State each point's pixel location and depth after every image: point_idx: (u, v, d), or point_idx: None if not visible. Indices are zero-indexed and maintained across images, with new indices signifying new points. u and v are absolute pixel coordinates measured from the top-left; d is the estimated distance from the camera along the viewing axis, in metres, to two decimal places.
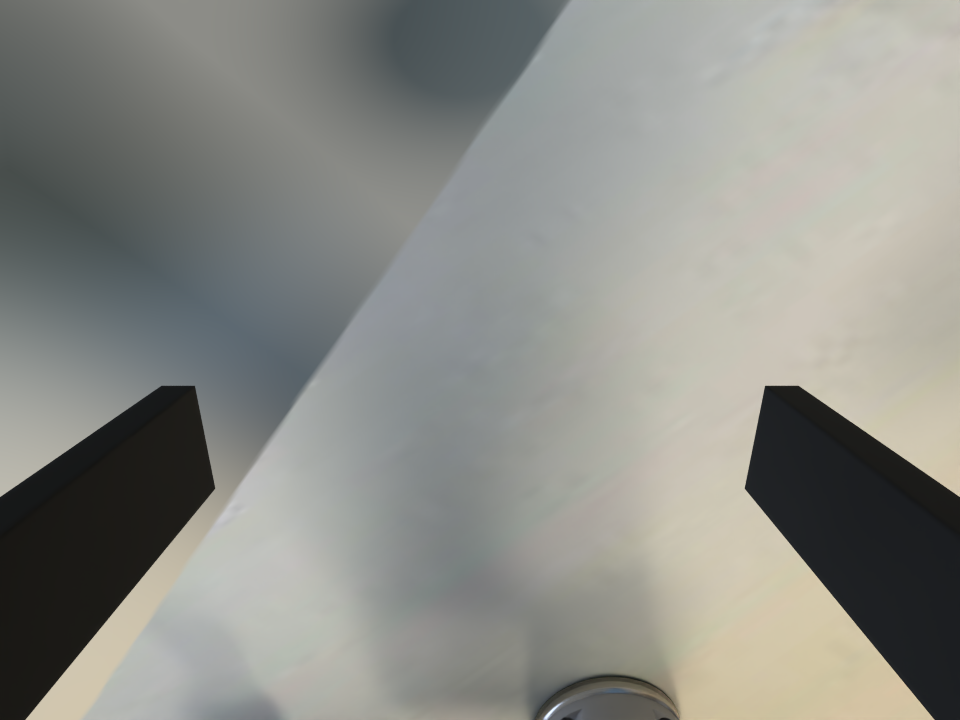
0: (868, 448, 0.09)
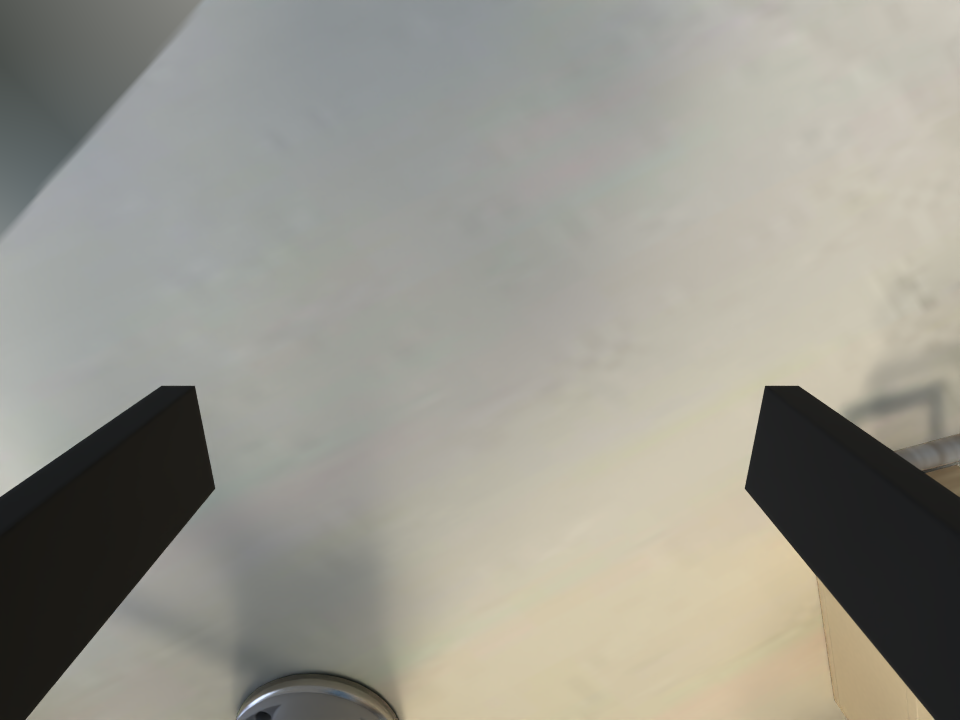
0: (868, 448, 0.09)
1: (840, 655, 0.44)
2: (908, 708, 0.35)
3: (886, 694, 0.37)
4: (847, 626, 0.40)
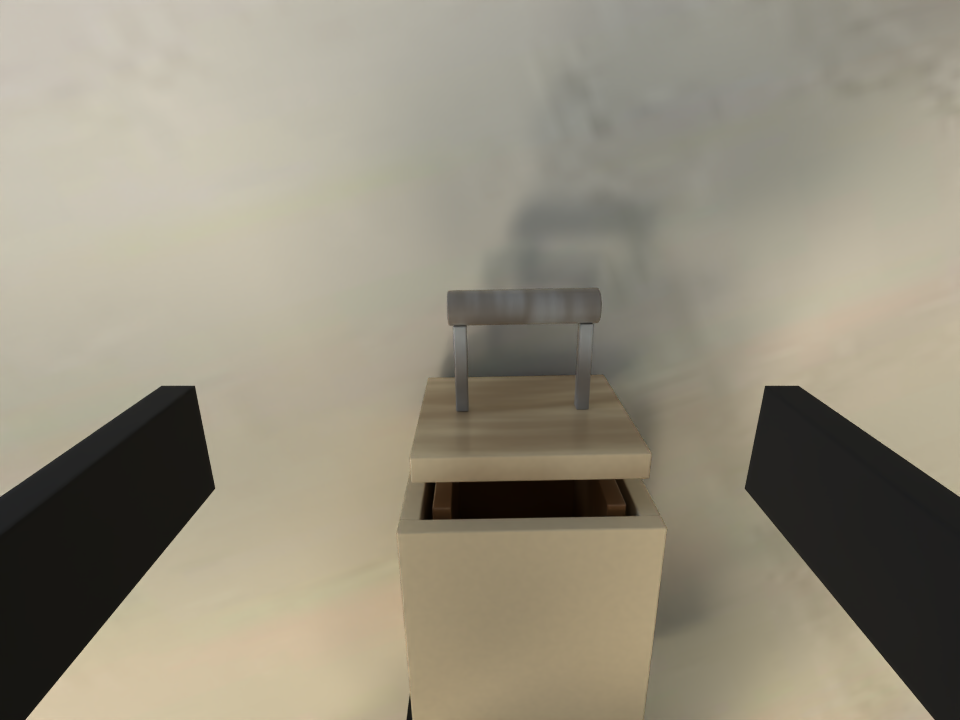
0: (868, 448, 0.09)
1: None
2: None
3: None
4: None
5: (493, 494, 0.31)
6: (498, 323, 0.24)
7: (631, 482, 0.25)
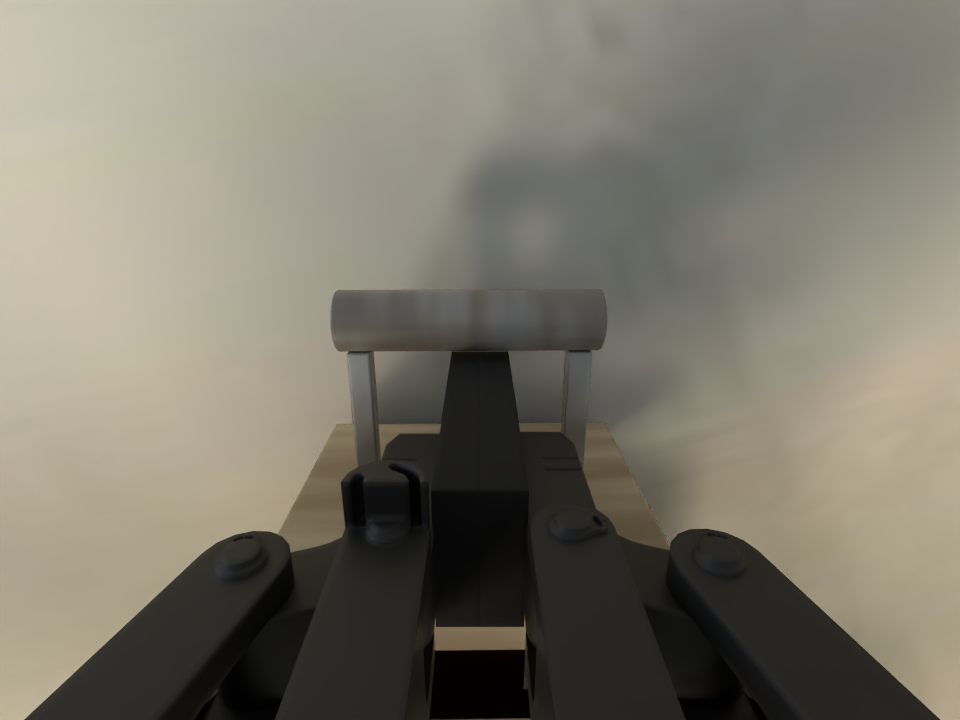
0: (497, 394, 0.12)
1: None
2: None
3: None
4: None
5: None
6: (425, 349, 0.13)
7: None
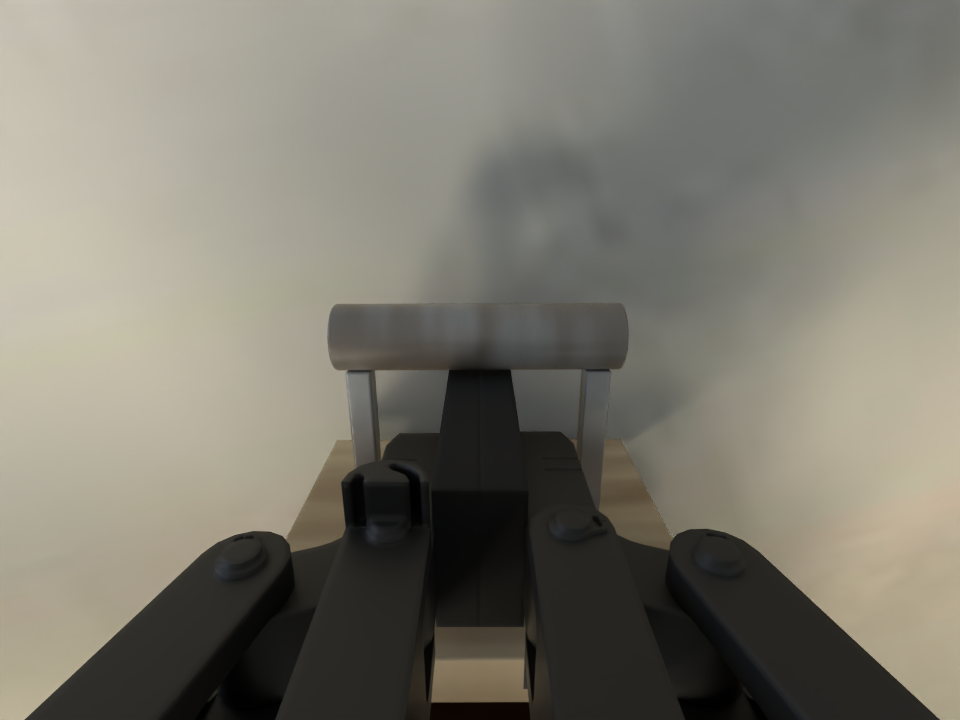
0: (497, 394, 0.12)
1: None
2: None
3: None
4: None
5: None
6: (430, 368, 0.12)
7: None
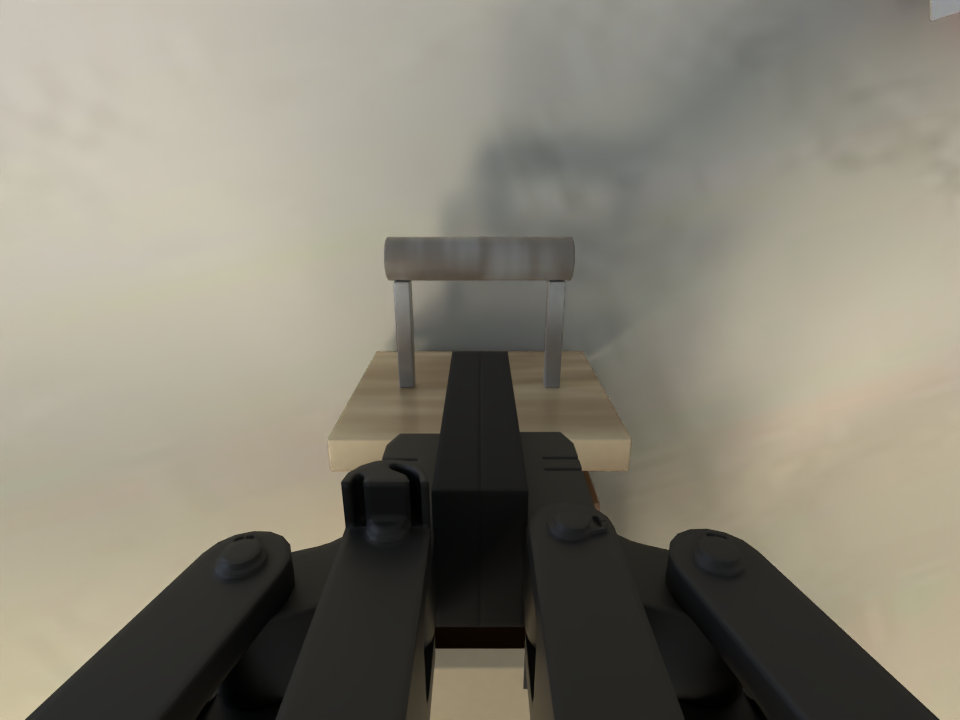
0: (497, 394, 0.12)
1: None
2: None
3: None
4: None
5: None
6: (448, 278, 0.19)
7: None
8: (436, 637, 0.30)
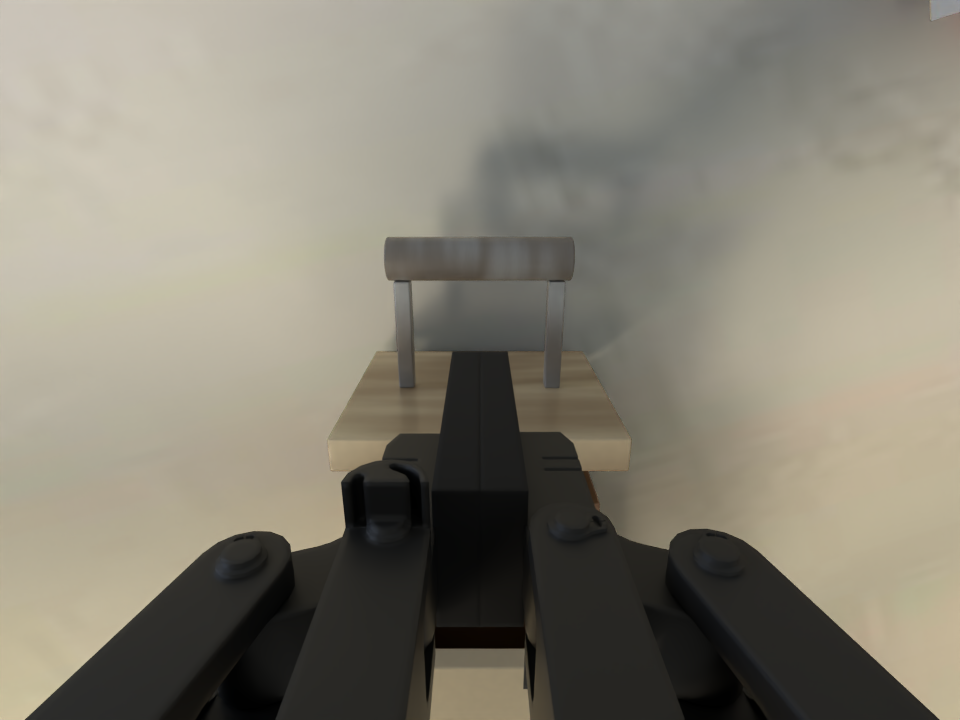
0: (497, 394, 0.12)
1: None
2: None
3: None
4: None
5: None
6: (448, 278, 0.19)
7: None
8: (436, 637, 0.30)
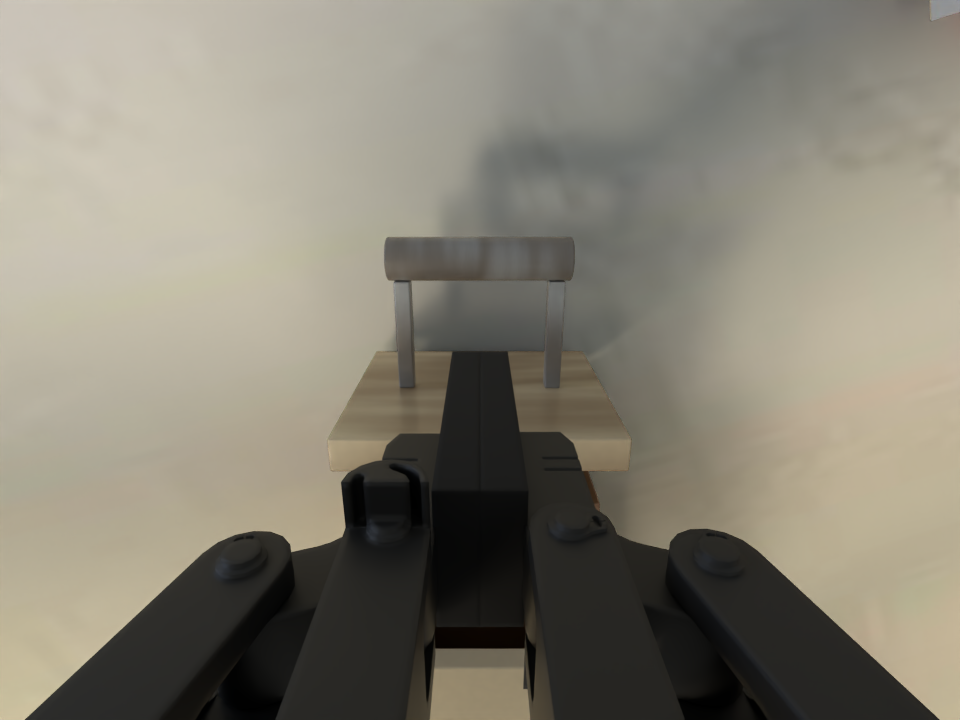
0: (497, 394, 0.12)
1: None
2: None
3: None
4: None
5: None
6: (448, 278, 0.19)
7: None
8: (436, 637, 0.30)
